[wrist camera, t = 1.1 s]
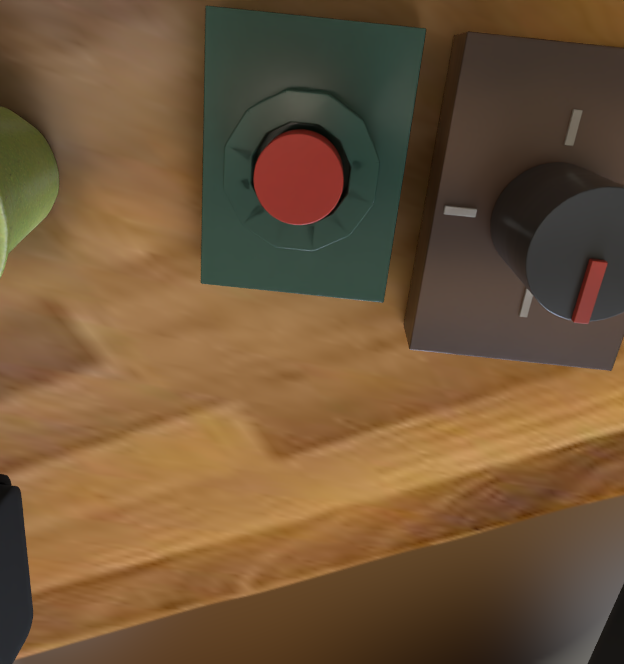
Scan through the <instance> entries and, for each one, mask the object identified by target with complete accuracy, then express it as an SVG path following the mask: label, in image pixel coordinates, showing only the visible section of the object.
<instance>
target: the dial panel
mask: <svg viewBox="0 0 624 664" xmlns="http://www.w3.org/2000/svg"><path fill="white" fill-rule="evenodd" d="M554 162H563V163H569V164H573V165H576V166H579V167H582V168H584V169H586V170H589V171H591V172H593V173H596V174H598V175H600V176H603V177H605V178H607V179H610V180H612V181H614V182H617V183H619V184H621V185H624V48H621V47H611V46H602V45H592V44H583V43H573V42H564V41H554V40H544V39H535V38H525V37H516V36H506V35H497V34H487V33H478V32H465V33H461V34H457V35H454V39H453V45H452V51H451V56H450V62H449V68H448V73H447V79H446V85H445V91H444V96H443V102H442V108H441V113H440V119H439V125H438V131H437V136H436V142H435V148H434V154H433V159H432V165H431V171H430V176H429V182H428V188H427V194H426V199H425V205H424V211H423V216H422V222H421V228H420V234H419V239H418V245H417V251H416V256H415V262H414V268H413V274H412V279H411V285H410V291H409V297H408V302H407V308H406V314H405V319H404V329H405V333H406V337H407V341H408V345H409V349H410V350H419V351H429V352H438V353H448V354H457V355H467V356H476V357H486V358H495V359H505V360H514V361H524V362H533V363H543V364H552V365H562V366H571V367H581V368H590V369H600V370H609V371H611V370H612V368H613V365H614V363H615V360H616V357H617V354H618V351H619V348H620V345H621V342H622V340H623V337H624V312H623V313H621V314H619V315H616V316H614V317H611V318H607V319H604V320H598V321H589V324H582V323H574V322H573V321H572V320H568V319H564V318H561V317H559V316H557V315H554V314H553V313H551V312H549V311H548V310H546V309H545V308H544V307H543V306H542V305H541V304H540V303H539V302H538V301H537V300H536V298H535V297H534V296H533V295H532V294H531V292H530V291H529V290H528V289H527V288H526V286H525V285H524V284H523V283H522V282H521V280H520V279H519V278H518V277H517V276H516V274H515V273H514V272H513V271H512V270H511V268H510V267H509V266H508V265H507V264H506V262H505V261H504V260H503V259H502V258H501V256H500V255H499V254H498V252H497V250H496V249H495V246H494V244H493V240H492V237H491V218H492V213H493V210H494V207H495V204H496V202H497V200H498V198H499V196H500V195H501V193H502V192H503V190H504V189H505V188H506V187H507V186H508V184H509V183H510V182H511V181H512V180H514V179H515V178H516V177H517V176H519V175H520V174H522V173H523V172H525V171H527V170H529V169H531V168H533V167H535V166H538V165H542V164H546V163H554Z"/></svg>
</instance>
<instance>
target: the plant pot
mask: <svg viewBox="0 0 624 664" xmlns="http://www.w3.org/2000/svg"><path fill="white" fill-rule="evenodd" d="M58 190H59V173H58V168H57V164H56V160H55V158H54V155H53V153H52V150H51V148H50V146H49V145H48V143H47V141H46V140H45V138H44V137H43V136H42V134H41V133H40V132H39V131H38V130H37V129H36V128H35V127H33V126H32V125H31V124H29V123H28V122H27V121H25V120H24V119H22V118H21V117H20V116H18V115H17V114H15V113H14V112H12V111H11V110H9V109H7V108H4V107H1V106H0V278H1V276H2V273H3V271H4V268H5V264H6V261H7V257H8V253H9V252H10V251H11V250H12V249H13V248H14V247H15V246H16V245H17V244H18V243H19V242H20V241H21V240H22V239H23V238H24V237H26V236H27V235H28V234H29V233H30V232H31V231H32V230H33V229H34V228H35V227H36V226H37V225H38V224H39V223H40V222H41V221H42V220H43V219H44V218H45V217H46V216H47V215H48V213H49V212H50V210H51V208H52V206H53V204H54V202H55V199H56V197H57V195H58Z"/></svg>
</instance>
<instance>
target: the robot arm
mask: <svg viewBox="0 0 624 664" xmlns="http://www.w3.org/2000/svg"><path fill="white" fill-rule="evenodd" d="M32 619H33V605H32V596H31V586H30V576H29V566H28V557H27V547H26V537H25V527H24V518H23V508H22V498H21V492H20V489H19V487H17V486H12V485H11V481H10V479H9V477H8V476H7V475H3V474H0V664H12V663H13V662H14V660H15V658H16V656H17V655H18V653H19V651H20V649H21V647H22V646H23V644H24V642H25V640H26V638H27V636H28V634H29V631H30V628H31V624H32ZM588 664H624V585H623V587H622V589H621V591H620V594H619V596H618V598H617V600H616V602H615V604H614V607H613V609H612V611H611V613H610V615H609V618H608V620H607V622H606V625H605V627H604V629H603V631H602V633H601V636H600V638H599V640H598V642H597V644H596V646H595V649H594V651H593V653H592V656H591V658H590V660H589V662H588Z"/></svg>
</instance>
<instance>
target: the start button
mask: <svg viewBox="0 0 624 664" xmlns="http://www.w3.org/2000/svg"><path fill="white" fill-rule="evenodd" d="M343 180H344V177H343V165H342V160H341V158H340V155H339V153H338V151H337V149H336V148H335V146H334V145H333V144H332V143H331V142H330V141H329V140H328V139H327V138H326V137H324V136H323V135H321V134H319V133H317V132H314V131H311V130H306V129H295V130H290V131H287V132H284V133H282V134H280V135H278V136H277V137H276V138H274V139H273V140H272V141H271V142H270V143H269V144H268V145H267V146H266V147H265V148H264V150H263V151H262V152H261V154H260V156H259V157H258V160H257V162H256V165H255V169H254V188H255V192H256V195H257V197H258V200H259V201H260V203H261V205H262V206H263V207H264V209H265V210H266V211H267V212H268V213H269V214H270V215H272V216H273V217H274V218H276V219H278V220H280V221H282V222H285V223H288V224H293V225H306V224H311V223H314V222H317V221H319V220H321V219H322V218H324V217H325V216H327V215H328V214H329V213H330V212H331V211H332V210H333V209H334V207H335V206H336V204H337V203H338V201H339V199H340V196H341V193H342V189H343Z"/></svg>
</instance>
